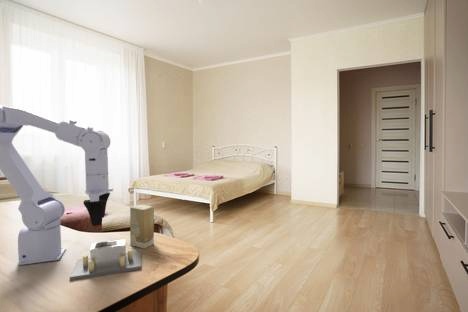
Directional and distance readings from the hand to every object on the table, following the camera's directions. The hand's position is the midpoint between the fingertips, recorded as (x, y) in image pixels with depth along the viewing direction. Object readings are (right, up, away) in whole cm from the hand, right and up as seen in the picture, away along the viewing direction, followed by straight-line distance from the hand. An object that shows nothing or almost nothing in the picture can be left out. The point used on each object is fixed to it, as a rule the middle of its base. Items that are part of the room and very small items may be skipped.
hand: (98, 221), depth 77 cm
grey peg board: (+6, -10, -6) cm, 13 cm away
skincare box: (+10, -10, +9) cm, 16 cm away
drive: (+6, -10, -6) cm, 13 cm away
